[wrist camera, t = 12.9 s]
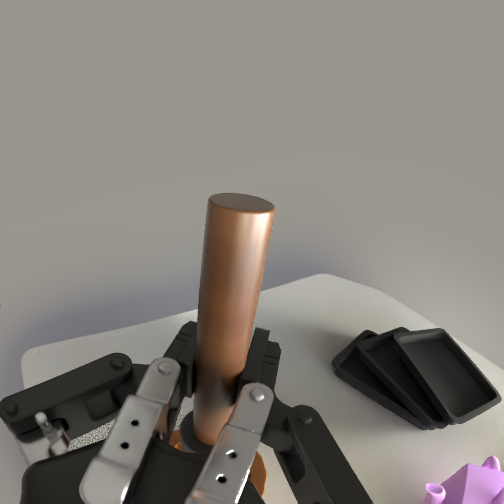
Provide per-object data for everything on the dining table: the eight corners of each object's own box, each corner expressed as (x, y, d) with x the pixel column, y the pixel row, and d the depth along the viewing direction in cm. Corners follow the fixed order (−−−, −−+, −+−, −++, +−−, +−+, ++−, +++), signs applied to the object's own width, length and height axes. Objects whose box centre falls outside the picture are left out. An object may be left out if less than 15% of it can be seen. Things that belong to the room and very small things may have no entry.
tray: (312, 390, 38) (323, 365, 36) (361, 318, 56) (369, 297, 54) (480, 461, 24) (502, 441, 22) (483, 372, 42) (496, 352, 40)
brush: (213, 499, 14) (265, 231, 7) (172, 472, 15) (159, 195, 8) (241, 467, 17) (315, 207, 9) (202, 443, 18) (228, 183, 11)
